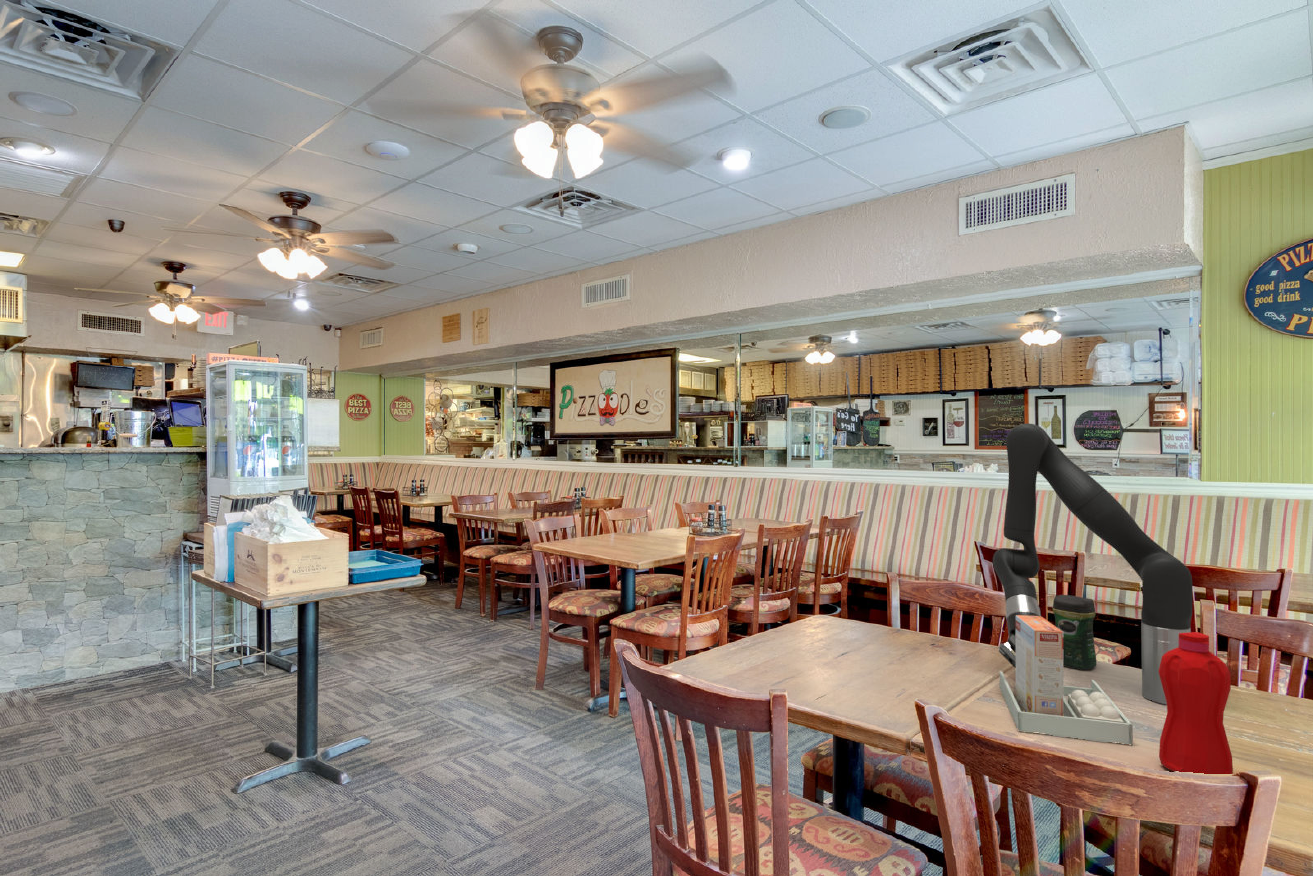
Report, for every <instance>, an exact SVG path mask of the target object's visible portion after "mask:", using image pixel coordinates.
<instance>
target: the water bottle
mask: <svg viewBox="0 0 1313 876" xmlns="http://www.w3.org/2000/svg"><path fill="white" fill-rule="evenodd" d="M1178 642H1179V647H1178V648H1175V649H1173V650H1170V651H1168V652H1167V653H1165V654H1164V655H1163V656H1162V658H1161V662H1160V667H1159V671H1158V672H1159V676H1160V679H1161V683H1162V687H1163V691H1164V694H1165V698H1166V702H1167V704H1166V712H1167V713H1166V717H1165V719H1164V722H1163V723H1164V724H1163V726H1162V730H1161V735H1160V737H1159V748H1158V749H1159V750H1158V751H1159V753H1158V757H1159V761H1160V764H1161V765H1162V766H1164V768H1165V767H1166V769H1167V768H1168V770H1169V771H1171V772H1173V771H1179V772H1193V773H1204V774H1234V768H1233V767H1234V766H1233V756H1232V755H1233V754H1232V751H1231V747H1230V743H1229V741H1228V736H1227V733H1226V729H1225V726H1224V713H1225V710H1226V707H1227V703H1228V699H1229V696H1230V692H1231V685H1232V684H1231V682H1232V681H1231V679H1232V677H1231V672H1230V669H1229V668H1228V666H1227V664H1226V663H1225V662H1224V661H1223V660H1222V659H1221V658H1220V657H1218V655H1215V654H1214V653H1212V652H1211V651H1210V635H1208V634H1205V633H1201V632H1197V631H1195V632H1194V631H1191V632H1190V633H1179V637H1178Z"/></svg>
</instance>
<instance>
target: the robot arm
mask: <svg viewBox="0 0 1313 876" xmlns="http://www.w3.org/2000/svg"><path fill="white" fill-rule="evenodd" d="M1005 447H1006V454H1007V462H1008V463H1007V464H1008V465H1007V466H1008V483H1007V485H1008V487H1007V495H1006V503H1005V509H1004V510H1005V513H1004V523H1003V537H1004V538H1005V539H1007V540H1009V541H1013V542H1016V543H1019V544H1021V545H1022V547H1023V549H1017V548H1016V549H1015V548H1005V547H1003V548H999V549H996V551H995V553H994V554H993V557H992V565H993V569H994V571H995V573H996V575H997V577H998V579H999V581H1000V583H1001V585H1002V588H1003V591H1004V598H1005V600H1004V601H1005V619H1006V625H1007V633H1008V638H1007V641H1006V642H1005V643H1000V644H999V648H998V652H999V653H1000V654H1001V655H1002V657H1004V658H1005V660H1006V661H1007V662H1008V663H1009V664H1011V666H1012V667H1014V668H1015V669H1016V615H1024V616H1040V617H1042V614H1041V608H1040V607H1039V603H1038V597H1037V590H1036V586H1035V584H1034V582H1033V581H1031V580H1030V579H1033V578H1035V577H1036V576H1037V575H1038V573H1039V572H1040V571H1039V570H1040V561H1039V556H1038V552H1037V548H1036V541H1035V528H1036V518H1037V477H1038V473H1039V474H1041V476H1042V477H1043V478H1044V479H1045V480H1046V481H1047V482H1048V484H1049V485H1050V486H1051V489H1053V491H1054V492H1055V494H1056V495H1057V496H1058V498H1059V499H1060V500H1061V502H1062V503H1063V504H1064V505H1065V506H1066V508H1067V509H1068V510H1069V511H1070V512H1071V513H1072V515H1074V516H1075V518H1077V519H1078V520H1079V521H1080V523H1082V524H1083V525H1084V526H1085V527H1086V528H1087V529H1088V530H1090V531H1091V532H1092V533H1093V534H1094V535H1096V536H1097V537H1098V538H1100V539H1101V540H1102V541H1104V542H1105V543H1106V544H1107V545H1109V546H1110V547H1112V548H1113V549H1114V550H1116V551H1117V552H1118V553H1119V555H1121V557H1123V559H1124V560H1126V562H1127V563H1128V565H1130V566H1131V568H1132V569H1133V570H1134V572H1135V573H1136V574H1137V575H1138V577H1139V579H1140V580H1141V582H1142V606H1141V612H1140V613H1141V616H1140V617H1141V619H1140V620H1141V621H1140V622H1141V624H1140V625H1141V628H1140V629H1141V691H1142V693H1141V694H1142V695H1141V696H1142V697H1144V698H1145V699H1147V700H1149V701H1151V700H1152V701H1151V702H1154V703H1158V704H1162V705H1167V702H1166V698H1165V694H1164V691H1163V687H1162V683H1161V679H1160V676H1159V672H1158V671H1159V667H1160V662H1161V658H1162V656H1163V655H1164V654H1165V653H1167V652H1168V651H1170V650H1173V649H1175V648H1178V647H1179V642H1178V637H1179V633H1190V632H1192V631H1191V630H1192V629H1191V625H1192V624H1191V623H1192V621H1191V620H1192V617H1193V577H1192V573H1191V572H1190V570H1189V568H1188V567H1187V565H1185V564H1184V563H1183V562H1182V561H1181V560H1179V559H1178V558H1177V557H1175V556H1174V555H1172V554H1171V553H1169V552H1168V551H1167V550H1165V549H1164V548H1163V547H1162V546H1160V545H1159V543H1157V542H1155V541H1154V540H1153V539H1152V538H1151V537H1150V536H1149V535H1147V534H1146V533H1145V531H1143V530H1142V529H1141V527H1140V526H1139V525H1138V523H1137V522H1136V521H1135V520H1134V518H1133V517H1132V516H1131V514H1130V513H1129V512H1128V511H1127V510H1126V509H1125V508H1124V507H1123V505H1122V504H1121V502H1119V501H1118V500H1117V499H1116V498H1115V496H1113V495H1112V494H1111V493H1110V492H1109V491H1108V490H1107V489H1106V488H1104V486H1102V485H1101V484H1100V483H1099V482H1098V481H1097V480H1096V479H1094V478H1093V477H1092V476H1091V475H1090V474H1088V473H1087V472H1086V471H1084V469H1082V468H1081V467H1079V466H1078V465H1077V464H1076V463H1075V462H1073V461H1072V460H1071V459H1070V458H1069V457H1067V455H1066V454H1065V453H1064V452H1063V450H1061V448H1060V447H1058V445H1057V444H1056V443H1055V441H1054V440H1052V438H1051V437H1050V436H1049V434H1048V433H1047V432H1046V431H1045V429H1044V428H1042V427H1041V426H1039V425H1037V424H1035V423H1022V424H1019V425H1018V424H1017V425H1016V426H1015V427H1013V428H1012V429H1010V431H1008V433H1007V435H1006V437H1005ZM1013 652H1014V653H1013Z"/></svg>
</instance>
